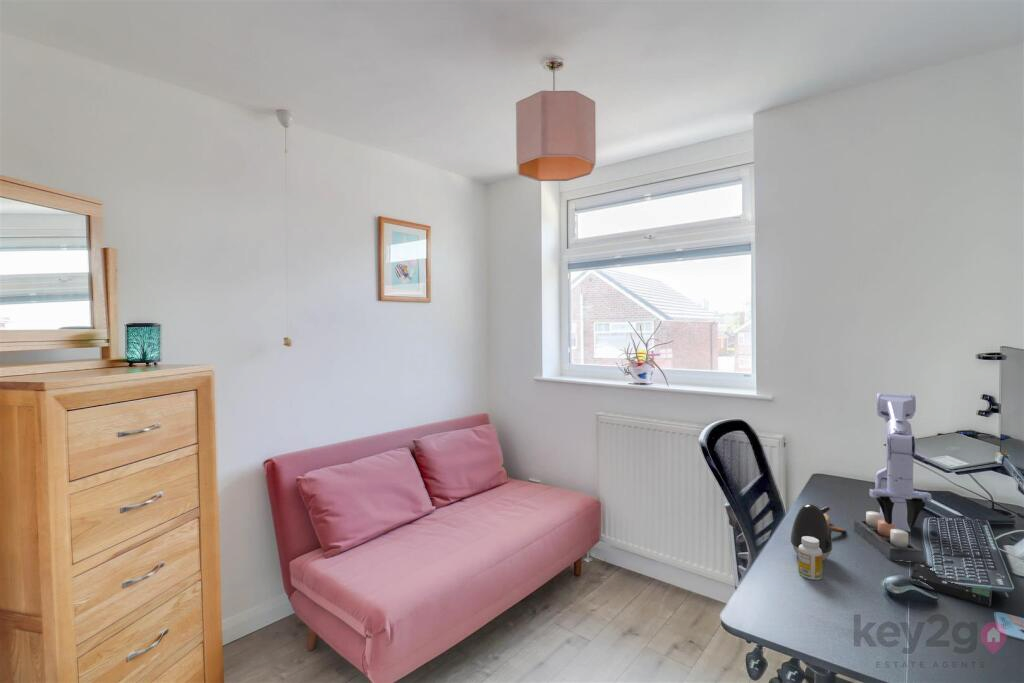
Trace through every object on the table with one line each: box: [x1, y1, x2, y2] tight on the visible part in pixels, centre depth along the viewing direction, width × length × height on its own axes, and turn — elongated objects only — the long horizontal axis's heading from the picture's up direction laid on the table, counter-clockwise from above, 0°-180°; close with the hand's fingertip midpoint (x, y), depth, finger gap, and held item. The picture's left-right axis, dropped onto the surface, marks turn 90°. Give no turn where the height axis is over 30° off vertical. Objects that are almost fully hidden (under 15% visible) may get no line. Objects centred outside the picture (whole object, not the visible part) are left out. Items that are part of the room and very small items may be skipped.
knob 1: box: [865, 510, 882, 528], centre depth 153 cm, size 4×4×4 cm
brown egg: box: [878, 520, 895, 537], centre depth 146 cm, size 4×4×4 cm
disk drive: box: [910, 563, 993, 607], centre depth 123 cm, size 10×3×15 cm
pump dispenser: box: [790, 503, 833, 562], centre depth 139 cm, size 10×10×15 cm
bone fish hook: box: [824, 513, 846, 533], centre depth 157 cm, size 9×5×18 cm
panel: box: [853, 519, 924, 564], centre depth 146 cm, size 21×8×4 cm, turn 168°
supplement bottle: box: [797, 536, 823, 581], centre depth 129 cm, size 5×5×10 cm
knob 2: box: [890, 529, 909, 548], centre depth 139 cm, size 4×4×4 cm
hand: (899, 523), depth 139 cm, fingers open, 5 cm apart
